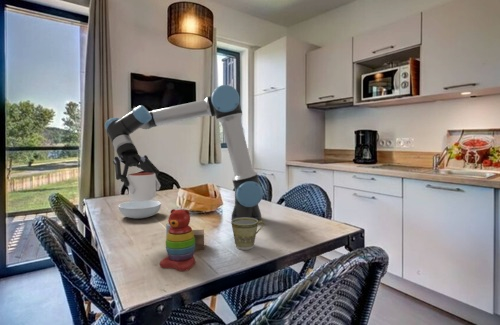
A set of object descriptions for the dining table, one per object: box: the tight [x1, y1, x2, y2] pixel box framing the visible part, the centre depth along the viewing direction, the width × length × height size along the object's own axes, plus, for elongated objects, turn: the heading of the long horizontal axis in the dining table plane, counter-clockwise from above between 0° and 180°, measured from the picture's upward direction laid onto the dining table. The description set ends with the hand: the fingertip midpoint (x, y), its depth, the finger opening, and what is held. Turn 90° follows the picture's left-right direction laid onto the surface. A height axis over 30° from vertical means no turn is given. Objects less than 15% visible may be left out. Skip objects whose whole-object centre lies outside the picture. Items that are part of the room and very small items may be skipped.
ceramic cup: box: [231, 217, 265, 251], centre depth 110 cm, size 13×10×10 cm
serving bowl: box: [118, 199, 162, 220], centre depth 154 cm, size 21×21×7 cm
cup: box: [127, 172, 157, 201], centre depth 115 cm, size 10×10×10 cm
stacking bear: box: [159, 208, 196, 272], centre depth 95 cm, size 11×10×18 cm
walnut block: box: [192, 229, 205, 252], centre depth 109 cm, size 6×6×6 cm
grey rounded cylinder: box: [165, 222, 171, 239], centre depth 116 cm, size 6×6×7 cm
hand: (146, 189), depth 113 cm, fingers closed on cup, 10 cm apart
